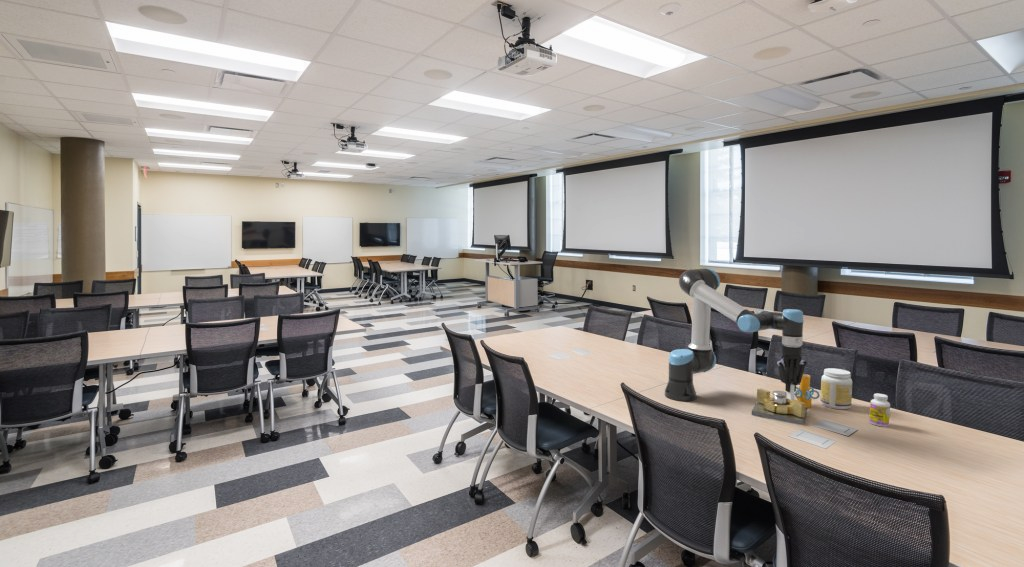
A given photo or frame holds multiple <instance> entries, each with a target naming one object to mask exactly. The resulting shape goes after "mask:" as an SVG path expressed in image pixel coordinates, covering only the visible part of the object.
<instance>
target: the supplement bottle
mask: <svg viewBox="0 0 1024 567" xmlns="http://www.w3.org/2000/svg"><path fill="white" fill-rule="evenodd" d="M888 398H889V396H888V394H884V393H878V392H877V393H876V392H875V393H874V394H873V398H872V399H871V400H870V402H869V403H870V406H869V418H868V419H869V420H868V421H869V423H870V424H872V425H874V426H876V427H884V428H887V427H888V426H889V424H890V412H891V403H890V402H889V401H888Z"/></svg>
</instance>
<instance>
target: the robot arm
mask: <svg viewBox="0 0 1024 567" xmlns="http://www.w3.org/2000/svg"><path fill="white" fill-rule="evenodd" d="M678 285H679V287H680V289H681V290H682V291H683V292H684V293H685V294H686V295H688V296H690V298H692V316H691V317H692V318H691V320H692V321H691V341H690V343H689V344H688V345H687V349H686V348H681V349H679V348H678V349H674V350H672V351H671V352H670V353H669V357H668V381H667V384H666V387H665V388H664V396H665V398H668V399H670V400H674V401H679V402H680V401H681V402H691V401H695V400H696V399H697V392H696V391H697V390H696V388H695V385H694V375H696V374H699V373H707V372H709V371H711V370H712V369H714V367H715V365H716V363H717V357H716V354H715V351H713V348H712V346H711V345H710V333H711V332H710V330H711V308H713V309H714V310H715V311H717V312H719V313H720V314H722V315H724V316H725V317H727V318H728V319H730V320H731V321H733V322H734V323H736V324H737V326H738V329H739V330H740V331H741V332H744V333H755V332H760V331H766V330H776V331H777V330H778V331H782V332H781V333H782V335H781V344H782V345H781V354H782V356H781V359H780V360H777V361H775V363H776V365H777V368H778V373H779V377H780V382H781V383H783V384H784V385H785V392H786V393H787V398H788V399H790V400H795V395H794V393H795V392H796V391H797V389H796V387H797V386H798V385H799V384H800V383H801V379H802V376H803V374H804V371H805V367H806V366H807V364H808V362H807V361H806V360H805V359H803V357H802V355H803V347H802V346H803V333H804V332H803V331H804V330H803V329H804V322H805V321H804V311H802V310H801V309H795V308H794V309H793V308H792V309H791V308H786V309H783V310H782V312H776V311H775V312H774V311H768V310H759V311H757V312H756V313H755V312H752V311H751V310H750V309H747V308H746V307H744V306H743V305H740V304H739V303H737V302H736V301H734V300H733V299H730V297H727V296H725V295H724V294H723V293H721V292H719V291H717V290H718V288H719V287H720V285H721V278H720V276H719V274H718V273H717V272H716V271H715V270H714V269H712V268H704V267H703V268H695V269H693V268H690V269H687V270H685V271H684V272H682V273H681V274H680V276H679V278H678Z"/></svg>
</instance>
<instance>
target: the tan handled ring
mask: <svg viewBox="0 0 1024 567" xmlns="http://www.w3.org/2000/svg"><path fill="white" fill-rule="evenodd" d="M757 402H760V403H762V404H764V408H765V409H767V410H769V411H772V412H776V413H783V414H787V413H788V414H793V415H796V416H798V417H805V403H803V402H800V401H797V399H794V400H790V399H788V398H786V405H777V404H775V401H774V396H772V397H771V391H769V390H766V389H763V388H757V389H756V403H757ZM805 418H806V417H805Z"/></svg>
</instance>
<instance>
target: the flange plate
mask: <svg viewBox="0 0 1024 567" xmlns="http://www.w3.org/2000/svg"><path fill="white" fill-rule="evenodd" d="M771 394H772V395H773V397H774V401H775V404H777V405H786V398H787V391H781V390H773V391H772V393H771ZM807 413H808V408H805V417H798V416H796V415H793V414H788V413H787V414H783V413H776V412H772V411H769V410H767V409H765V408H764V404H762V403H760V402H757V401H756V403H755V405H754V406H753V407H752V410H751V413H750V414H751V416H753V417H754V416H755V417H760V418H764V419H771V420H775V421H780V422H784V423H785V422H786V423H790V424H794V425H795V424H796V425H801V426H804V423H805V421H806V417H807V415H808V414H807Z"/></svg>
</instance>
